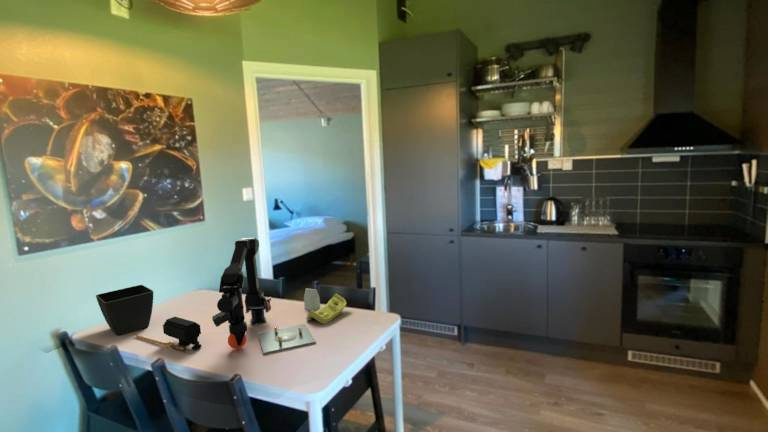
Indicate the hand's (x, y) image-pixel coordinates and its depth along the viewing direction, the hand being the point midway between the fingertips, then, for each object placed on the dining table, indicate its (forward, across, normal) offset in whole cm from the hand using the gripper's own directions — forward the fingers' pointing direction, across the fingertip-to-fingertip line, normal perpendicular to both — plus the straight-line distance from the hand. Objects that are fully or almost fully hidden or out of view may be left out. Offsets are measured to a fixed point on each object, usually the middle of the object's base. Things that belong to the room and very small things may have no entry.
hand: (238, 341), depth 160 cm
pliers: (+4, -47, +16) cm, 49 cm away
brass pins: (+2, 0, +20) cm, 20 cm away
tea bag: (+3, -29, +36) cm, 47 cm away
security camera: (+3, -15, -20) cm, 25 cm away
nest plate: (+3, 0, +18) cm, 18 cm away
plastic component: (+4, -16, +40) cm, 44 cm away
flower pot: (+3, -48, -45) cm, 66 cm away
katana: (+3, -21, -30) cm, 37 cm away
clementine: (+3, 0, 0) cm, 3 cm away
